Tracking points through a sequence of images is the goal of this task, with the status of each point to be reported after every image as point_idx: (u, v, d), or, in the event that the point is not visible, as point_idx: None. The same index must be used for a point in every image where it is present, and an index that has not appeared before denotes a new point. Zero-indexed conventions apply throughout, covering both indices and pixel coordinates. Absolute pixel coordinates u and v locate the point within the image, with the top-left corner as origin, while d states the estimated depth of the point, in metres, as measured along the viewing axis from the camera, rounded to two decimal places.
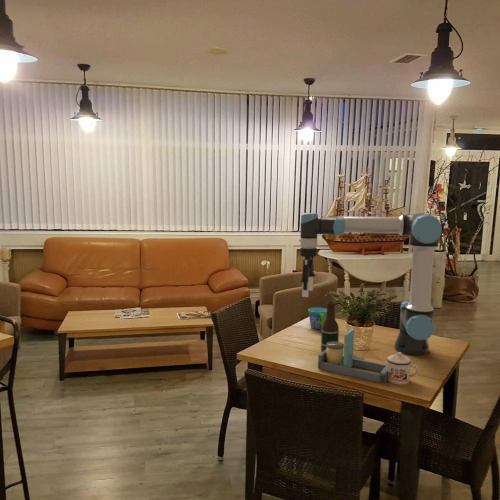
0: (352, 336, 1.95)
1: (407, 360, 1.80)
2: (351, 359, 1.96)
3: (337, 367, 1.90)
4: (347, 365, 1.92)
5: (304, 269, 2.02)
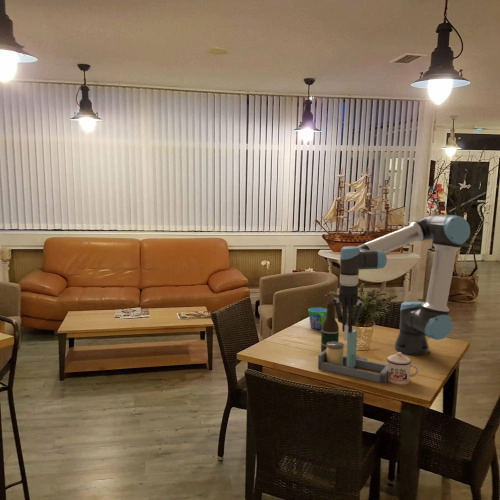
0: (355, 337, 1.94)
1: (407, 360, 1.80)
2: (354, 360, 1.95)
3: (337, 367, 1.90)
4: (350, 366, 1.91)
5: None
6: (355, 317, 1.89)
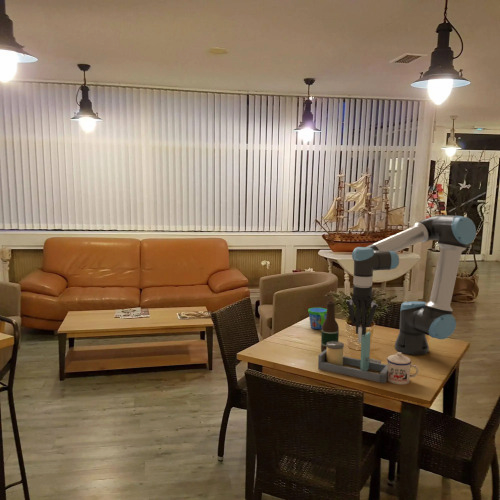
0: (369, 339, 1.91)
1: (407, 360, 1.80)
2: (367, 362, 1.92)
3: (337, 367, 1.90)
4: (364, 368, 1.88)
5: None
6: (369, 319, 1.86)
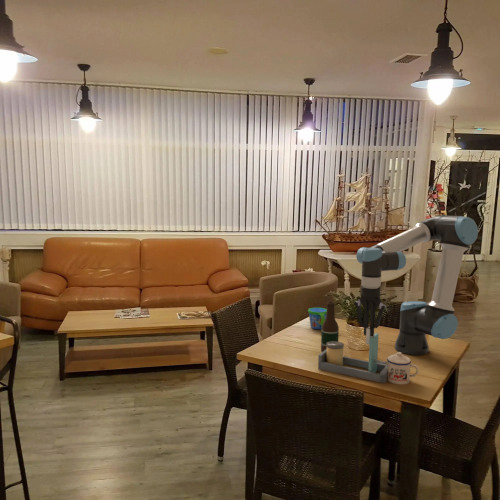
0: (377, 340, 1.89)
1: (407, 360, 1.80)
2: (375, 364, 1.90)
3: (337, 367, 1.90)
4: (372, 370, 1.86)
5: None
6: (377, 320, 1.84)
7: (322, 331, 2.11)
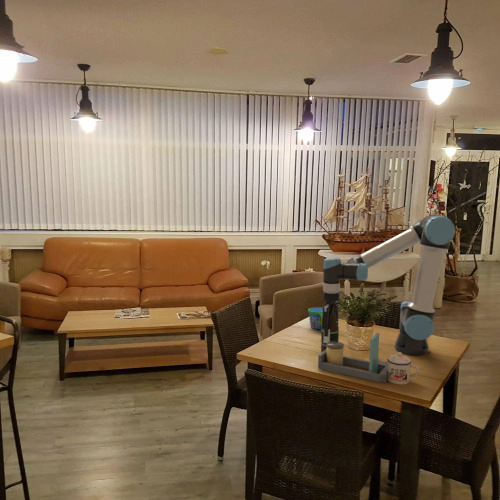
0: (377, 340, 1.89)
1: (407, 360, 1.80)
2: (376, 364, 1.90)
3: (337, 367, 1.90)
4: (372, 370, 1.86)
5: (324, 316, 2.05)
6: (337, 315, 2.16)
7: (322, 331, 2.11)
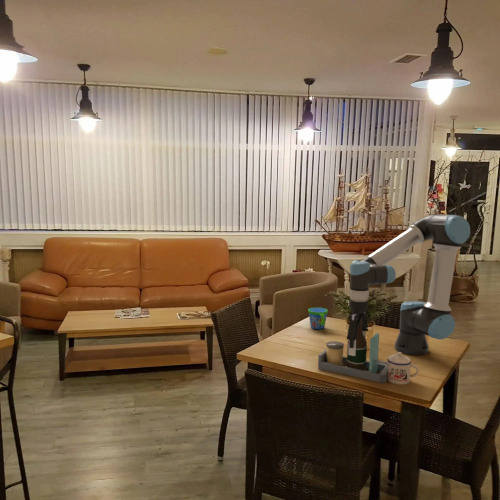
0: (377, 340, 1.89)
1: (407, 360, 1.80)
2: (376, 364, 1.90)
3: (337, 367, 1.90)
4: (372, 370, 1.86)
5: (350, 325, 1.83)
6: (366, 322, 1.96)
7: (348, 347, 1.91)
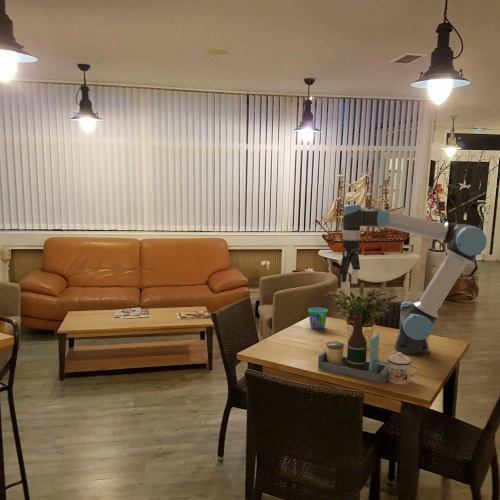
0: (377, 340, 1.89)
1: (407, 360, 1.80)
2: (376, 364, 1.90)
3: (337, 367, 1.90)
4: (372, 370, 1.86)
5: (343, 261, 2.01)
6: (358, 261, 2.14)
7: (348, 347, 1.91)
